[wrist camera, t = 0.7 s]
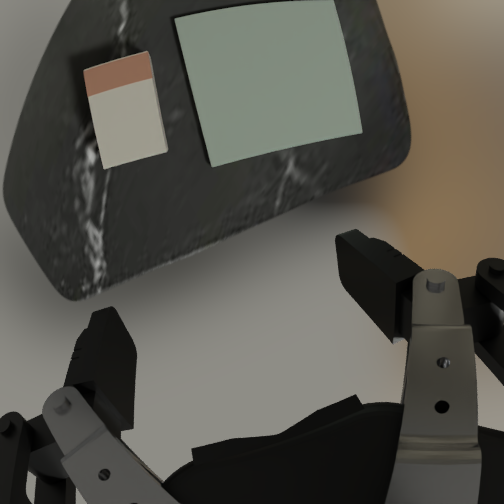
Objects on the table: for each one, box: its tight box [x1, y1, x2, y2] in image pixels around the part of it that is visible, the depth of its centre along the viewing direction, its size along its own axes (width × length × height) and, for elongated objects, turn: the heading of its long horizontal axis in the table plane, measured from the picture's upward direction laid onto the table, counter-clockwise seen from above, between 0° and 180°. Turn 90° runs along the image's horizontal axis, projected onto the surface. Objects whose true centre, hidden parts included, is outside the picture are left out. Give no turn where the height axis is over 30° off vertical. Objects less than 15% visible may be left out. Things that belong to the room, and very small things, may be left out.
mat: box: [175, 0, 362, 167], centre depth 27 cm, size 15×16×1 cm
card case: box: [83, 51, 168, 169], centre depth 25 cm, size 6×9×4 cm, turn 9°
